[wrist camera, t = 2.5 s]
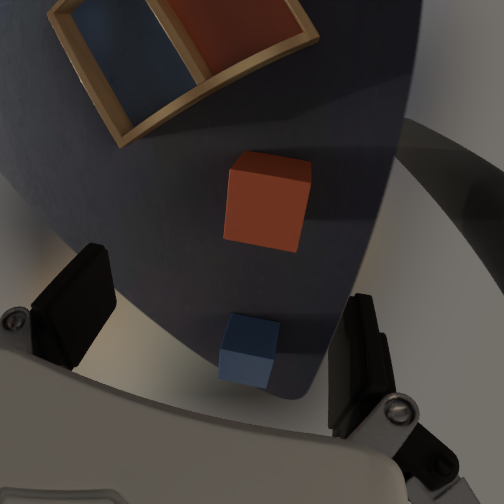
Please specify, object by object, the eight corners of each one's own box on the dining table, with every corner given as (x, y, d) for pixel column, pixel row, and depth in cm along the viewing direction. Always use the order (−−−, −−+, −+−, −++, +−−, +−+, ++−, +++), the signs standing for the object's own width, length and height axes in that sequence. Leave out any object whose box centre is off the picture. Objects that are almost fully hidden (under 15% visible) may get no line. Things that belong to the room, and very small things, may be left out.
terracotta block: (238, 209, 23) (223, 239, 19) (245, 150, 20) (229, 168, 17) (299, 220, 22) (296, 253, 19) (311, 161, 20) (311, 183, 16)
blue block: (228, 343, 30) (217, 378, 27) (231, 312, 28) (219, 348, 24) (272, 352, 30) (266, 388, 26) (280, 322, 28) (274, 359, 24)
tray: (221, -92, 11) (209, -109, 8) (318, 42, 16) (320, 36, 13) (69, 15, 16) (45, 13, 13) (139, 139, 21) (119, 149, 19)
